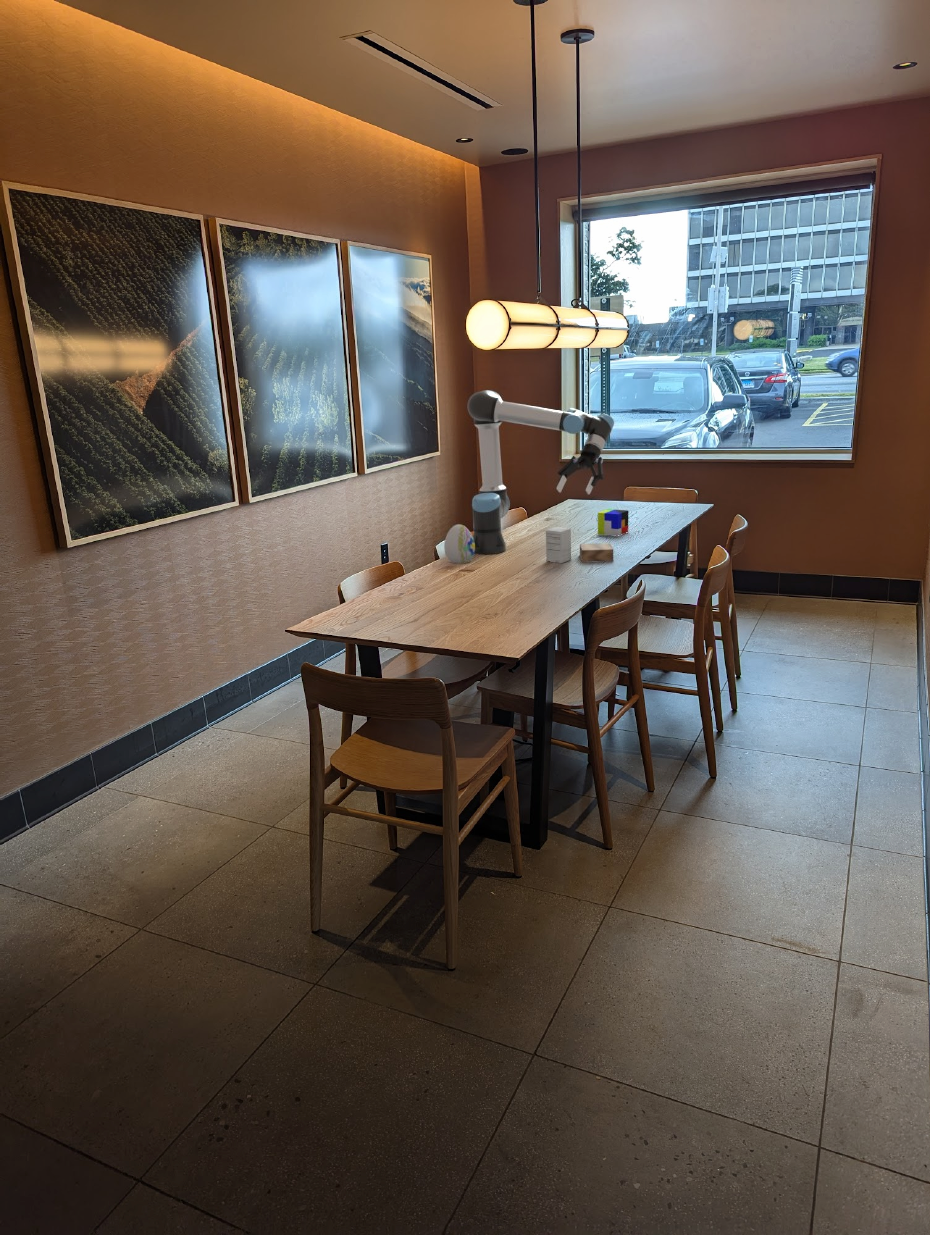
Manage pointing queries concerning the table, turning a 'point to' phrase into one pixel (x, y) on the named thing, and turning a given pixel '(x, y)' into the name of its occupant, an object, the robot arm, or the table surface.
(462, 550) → the decorative egg
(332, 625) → the table surface
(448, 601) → the table surface
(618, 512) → the puzzle toy
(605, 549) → the walnut box
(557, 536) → the supplement box
